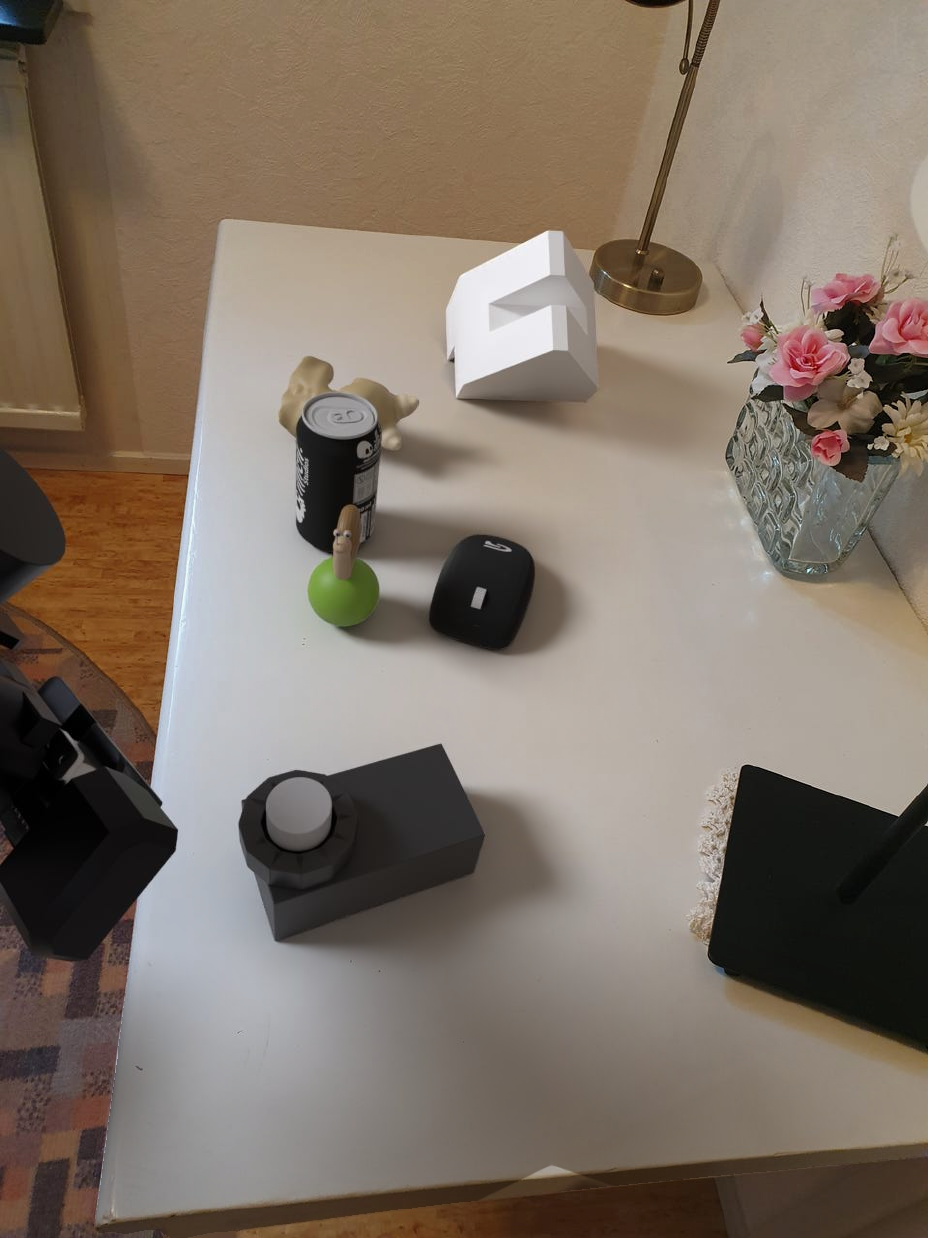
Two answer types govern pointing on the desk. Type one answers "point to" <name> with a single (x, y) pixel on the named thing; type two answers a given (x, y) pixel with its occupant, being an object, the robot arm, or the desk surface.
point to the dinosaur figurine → (319, 374)
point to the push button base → (365, 841)
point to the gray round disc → (298, 814)
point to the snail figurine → (344, 577)
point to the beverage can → (336, 465)
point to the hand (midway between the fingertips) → (153, 807)
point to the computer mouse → (483, 591)
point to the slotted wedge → (525, 325)
